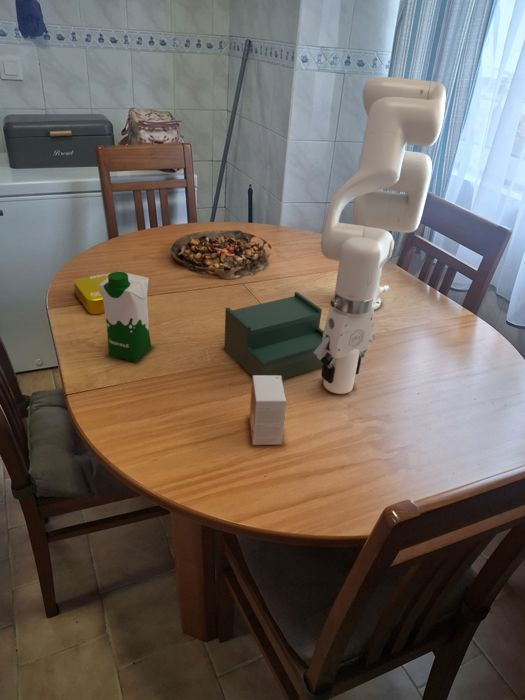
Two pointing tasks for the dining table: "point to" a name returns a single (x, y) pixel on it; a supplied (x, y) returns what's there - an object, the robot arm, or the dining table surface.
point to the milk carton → (126, 315)
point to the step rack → (275, 336)
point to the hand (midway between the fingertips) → (339, 374)
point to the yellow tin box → (91, 292)
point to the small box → (267, 409)
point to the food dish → (220, 253)
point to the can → (343, 373)
